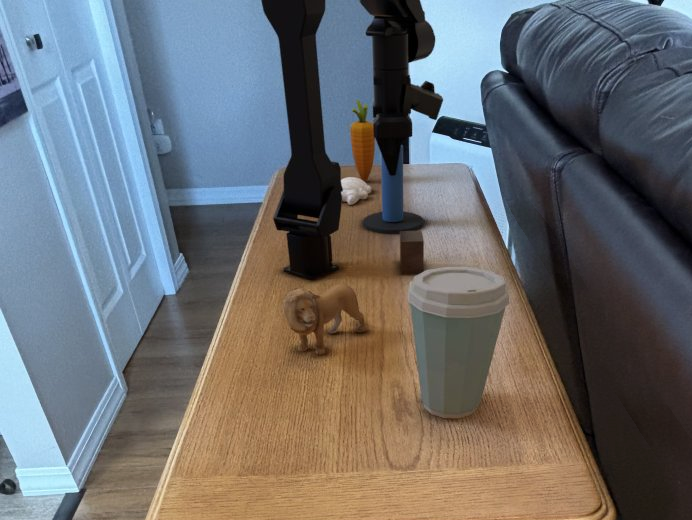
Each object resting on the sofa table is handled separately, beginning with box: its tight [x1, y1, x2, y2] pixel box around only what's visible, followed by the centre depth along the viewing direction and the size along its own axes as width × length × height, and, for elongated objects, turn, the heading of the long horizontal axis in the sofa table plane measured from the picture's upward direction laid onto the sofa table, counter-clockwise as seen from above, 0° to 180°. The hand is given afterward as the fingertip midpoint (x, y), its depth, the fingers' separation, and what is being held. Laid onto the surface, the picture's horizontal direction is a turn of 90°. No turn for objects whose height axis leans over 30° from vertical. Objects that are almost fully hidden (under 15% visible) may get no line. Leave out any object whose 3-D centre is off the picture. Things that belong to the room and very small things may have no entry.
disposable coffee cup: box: [407, 266, 510, 419], centre depth 79 cm, size 11×11×15 cm
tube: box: [380, 144, 404, 222], centre depth 130 cm, size 11×4×11 cm
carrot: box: [349, 99, 376, 183], centre depth 151 cm, size 5×5×15 cm
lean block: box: [399, 230, 425, 275], centre depth 116 cm, size 4×5×5 cm
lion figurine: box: [282, 284, 366, 356], centre depth 94 cm, size 15×5×9 cm, turn 150°
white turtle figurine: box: [341, 176, 372, 206], centre depth 147 cm, size 9×12×3 cm
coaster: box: [362, 211, 425, 234], centre depth 134 cm, size 11×11×1 cm
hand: (392, 172), depth 129 cm, fingers closed on tube, 4 cm apart
